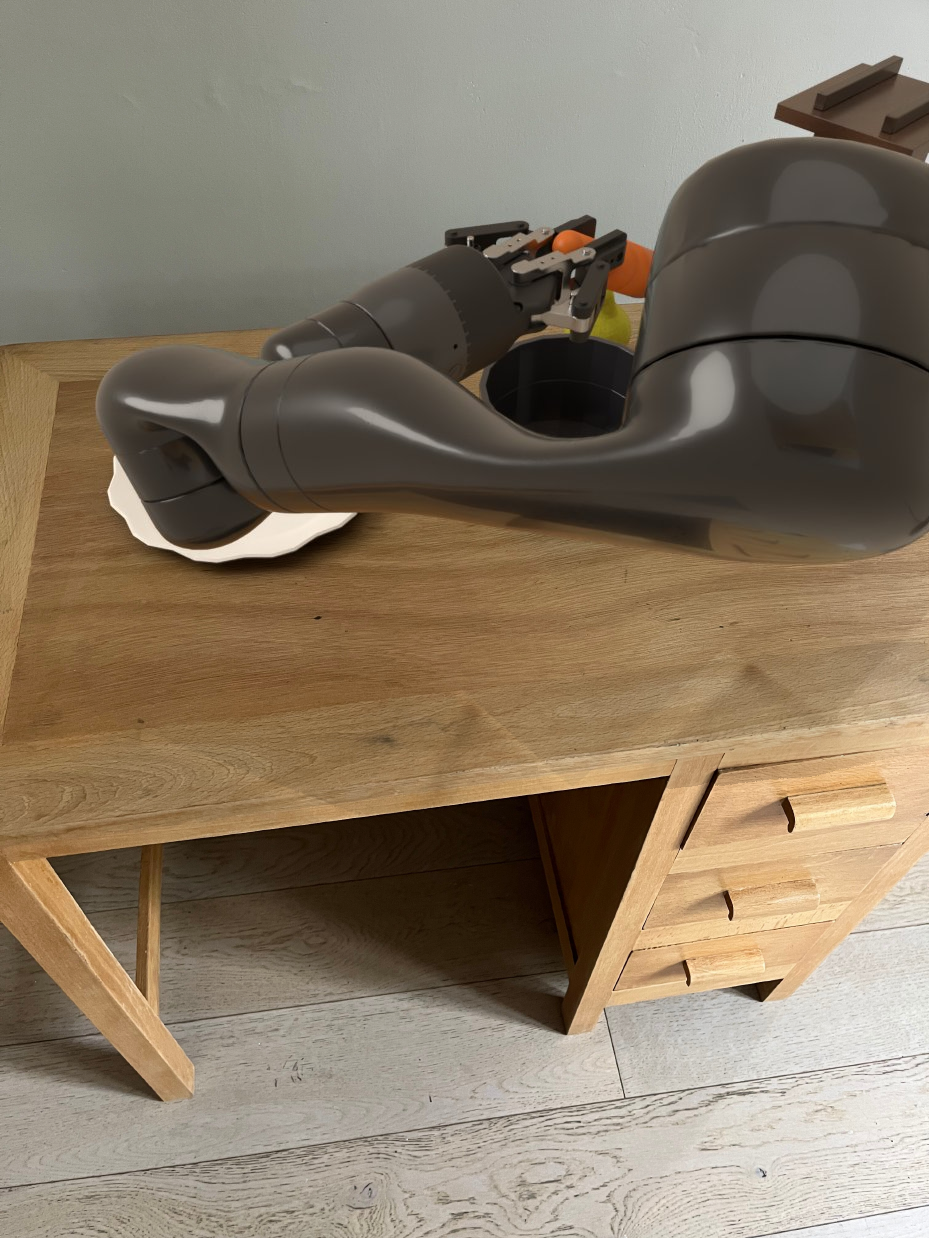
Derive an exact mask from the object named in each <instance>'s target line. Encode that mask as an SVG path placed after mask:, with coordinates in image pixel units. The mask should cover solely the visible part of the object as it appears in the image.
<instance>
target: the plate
mask: <svg viewBox="0 0 929 1238" xmlns="http://www.w3.org/2000/svg"><path fill="white" fill-rule="evenodd" d="M112 463H113V476H112V478H111V481H110V483H109V486H108V489H107V491H106V493H107V496H108V500H109V504H110V507H111V508H112V509H113V510H114V511H115V512H116V513H118V514H119V515H120V517H122V518H123V519H124V520H125V522H126V524H127V526H128V528H129V530H130V532H131V534H132V537H134V538H135V539H136V540H138V541H139V542H141V543H143V544H144V545H145V546H147V547H148V548H155V549H159V550H164V551H169V552H173V553H176V554H178V555H180V556H182V557H185V558H186V559H189V560H190V561H192V562H194V563H205V564H216V565H219V564H223V563H229V562H235V561H239V560H240V561H241V560H244V559H276V558H279V557H283V556H286V555H289V554H293V553H296V552H297V551H299V550H300V549H303V548H304V547H305V546H307V545H308V544H310V543H311V542H314V541H315V540H316V539H317V538H320V537H323V536H326V535H328V534H331V533H332V532H335V531H338V530H341V529H343V528H344V527H345V526H346V525H347V524H349V523H350V522H351V521H352V520H353V519H355V517H357V515H358V513H302V514H286V513H277V512H273V513H271V514H270V515H269V516H268V517H267V518H266V519H265V520H264V521H263V522H262V523H261V524H260V525H259V526H257V527H256V528H255V529H254V530H252V531H251V532H250V533H248V534H247V535H245V536H244V537H242V538H240V539H239V540H237V541H235V542H233V543H231V544H228V545H225V546H223V547H219V548H215V549H209V550H190V549H184V548H181V547H178V546H175V545H173V544H171V543H169V542H168V541H166V540H165V539H164V538H163V537H162V536H161V534H160V533H159V532H158V530H157V529H156V528H155V526H154V524H153V522H152V521H151V519H150V517H149V516H148V514H147V512H146V510H145V508H144V506H143V505H142V503H141V499H139V497H138V495H137V493H136V491H135V490H134V488H133V486H132V484H131V483H130V481H129V479H128V477H127V475H126V474H125V472H124V470H123V468H122V467H121V465H120V463H119V461H118V460H117V458H116V456H115V455H114V456H113V462H112Z"/></svg>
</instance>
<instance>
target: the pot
mask: <svg viewBox="0 0 929 1238" xmlns="http://www.w3.org/2000/svg"><path fill="white" fill-rule="evenodd" d="M569 336H570V333H569V334H568V333H566V334H564V333H555V334H554V333H553V334H552V333H551V334H541V335H537V336H534V337H529V338H525V339H521V340H519V341H518V340H517V341H516V342H515V343H514V344H513V345H512V346H511V348H510V349H509V350H508V352H507V353H506V354H505V355H504V356H503V357H502V358H501V359H499V360H498V361H496V362H494V363H492V364H491V365H489V366H487V367H485V368H483V369H482V373H481V376H480V379H479V382H478V398H480V399H481V400H483V401H484V402H485V403H487V404H488V405H490V406H491V407H492V408H494V409H495V410H497V411H498V412H499V413H501V414H502V415H504V416H506V417H507V418H509V419H511V420H512V421H514V422H516V423H518V424H519V425H521V426H523V427H525V428H527V429H529V430H532V431H534V432H537V433H541V434H544V435H548V436H554V437H561V438H584V437H593V436H600V435H604V434H609V433H612V432H615V431H616V430H618V429H619V427H620V425H621V420H622V413H623V407H624V402H625V397H626V392H627V389H628V384H629V378H630V373H631V368H632V362H633V357H634V352H635V349H632V348H630V347H628V345H627V346H625V345H623V344H620V343H617V342H614V341H610V340H607V339H604V338H600V337H596V336H589V338H588V340H587V341H586V342H584V343H575V342H573V341H571V340H570V338H569Z"/></svg>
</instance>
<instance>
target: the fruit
mask: <svg viewBox="0 0 929 1238" xmlns="http://www.w3.org/2000/svg"><path fill="white" fill-rule="evenodd" d="M615 299H616V298H615V292H613V291H610V290H606V297H605V302H604V304H603V306H602V309H601V311H600V313H599V315H598V318H597V320H596V322H595V325H594V327H593V329H592V332H591V334H590V336H596V337H600V338H604V339H607V340H610V341H614V342H617V343H620V344H623V345H625V346H627V347H628V345H629V342H630V340H631V336H632V330H633V329H632V323H631V319H630V316H629V315H628V313H627V311H626V310H625V309H624V308H623V307H622V306H620V305H619V304H618V303H617V302H616V300H615ZM563 330H564V332H563V334H566V333H568V334H569V333H570V329H565V328H564V329H563Z"/></svg>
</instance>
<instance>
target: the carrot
mask: <svg viewBox="0 0 929 1238" xmlns="http://www.w3.org/2000/svg"><path fill="white" fill-rule="evenodd" d="M596 239H597V238H595V239H594V238H591V237H589V236H586V235H584V234H581V233H578V232H576V231H573V230H566V231H563V232H561V233H560V234H558V235H557V236H556V238H555V239H554V241H553V245H552V252H554V251H560V252H562V253H563V254H567V253H569V252H572V251H574V250H577V249H579V248H582V247H585V245H586V244H588V243H590V242H592V241H594V240H596ZM626 242H627V246H626V253H625V259H624V262H623V264H622V265H621V266H619V267H617V268H615V269H614V270H612V271H610V272H609V276H608V283H607V290H610V291H613V292H614V293H617V294H619V295H623V296H625V297H630V298H633V299H645V290H646V285H647V280H648V275H649V271H650V266H651V262H652V257H653V253H654V249H651V248H648V247H646V246H643V245H641V244H638V243H636V242H633V241H631V240H628V239H627V241H626Z"/></svg>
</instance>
